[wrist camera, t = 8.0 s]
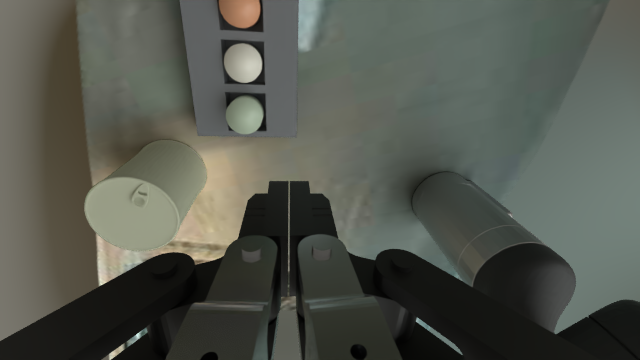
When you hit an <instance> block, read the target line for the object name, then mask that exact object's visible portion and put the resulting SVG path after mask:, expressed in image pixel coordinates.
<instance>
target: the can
mask: <svg viewBox="0 0 640 360" xmlns="http://www.w3.org/2000/svg"><path fill="white" fill-rule="evenodd" d="M206 179H207V172H206V167H205V164H204V162H203V160H202V159H201V157H200V156H199V155H198V154H197V153H196V152H195V151H194V150H193V149H192V148H190V147H189V146H187V145H185V144H183V143H181V142H178V141H174V140H158V141H154V142H151V143H149V144H148V145H146V146H145V147H144V148H142V150H141V151H140V152H139V153H138V154H137V155H136V156H134V157H133V158H132V159H130V160H129V161H128V162H127V163H125V164H124V165H123V166H121V167H120V168H119V169H117V170H116V171H115V172H113V173H112V174H111V175H109V176H108V177H107V178H105V179H104V180H102V181H100V182H99V183H97V184H96V185H94V186H93V187H92V189H91V190H90V191H89V193H88V194H87V196H86V199H85V204H84V210H85V215H86V218H87V220H88V222H89V224H90V226H91V227H92V228H93V230H94V231H95V232H96V233H97V234H98V235H99V236H100V237H102V238H103V239H104V240H106V241H107V242H109V243H111V244H113V245H115V246H117V247H120V248H123V249H127V250H132V251H150V250H155V249H158V248H161V247H163V246H165V245H166V244H168V243H169V242H170V241H171V240H172V239H173V238H174V237H175V236H176V234H177V232H178V230H179V227H180V225H181V223H182V221H183V220H184V218H185V216H186V214H187V212H188V211H189V209H190V207H191V205H192V204H193V202H194V200H195V199H196V197H197V195H198V194H199V193H200V192H201V190H202V189H203V187H204V186H205V183H206Z"/></svg>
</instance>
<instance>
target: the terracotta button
mask: <svg viewBox="0 0 640 360" xmlns="http://www.w3.org/2000/svg"><path fill="white" fill-rule="evenodd" d="M219 8H220V11H221V14H222V16H223V17H224V19H225V20H226V21H227V22H228V23H229V24H231V25H233V26H235V27H238V28H244V29H246V28H251V27H253V26H255V25H256V24H257V23H258V21H259V20H260V17H261V13H262V7H261V3H260V0H219Z"/></svg>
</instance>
